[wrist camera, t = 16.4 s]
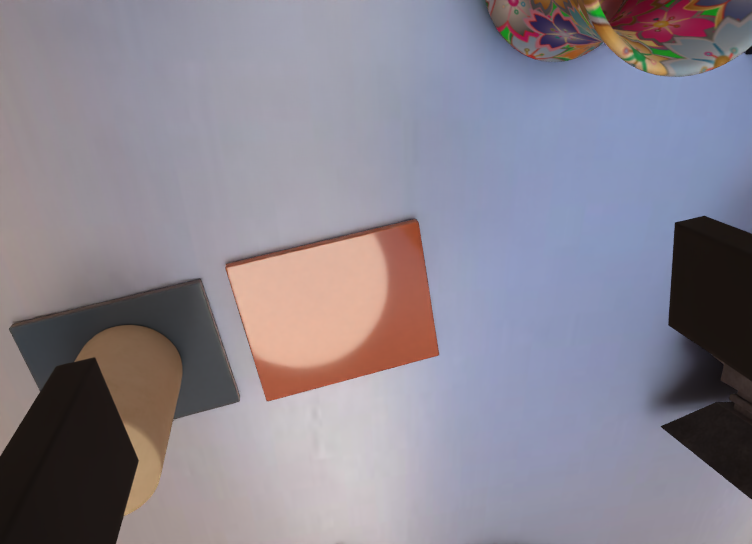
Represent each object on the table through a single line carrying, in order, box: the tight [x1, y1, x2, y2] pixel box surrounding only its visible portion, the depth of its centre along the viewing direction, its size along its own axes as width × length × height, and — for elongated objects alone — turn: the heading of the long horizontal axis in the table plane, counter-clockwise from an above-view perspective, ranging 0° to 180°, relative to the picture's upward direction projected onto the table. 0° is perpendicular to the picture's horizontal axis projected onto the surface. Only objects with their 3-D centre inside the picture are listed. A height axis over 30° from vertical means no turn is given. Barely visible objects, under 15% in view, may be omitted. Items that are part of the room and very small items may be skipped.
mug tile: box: [225, 219, 439, 401], centre depth 33 cm, size 9×11×1 cm
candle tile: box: [9, 279, 240, 419], centre depth 31 cm, size 8×10×1 cm
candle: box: [74, 325, 182, 516], centre depth 27 cm, size 6×6×10 cm
